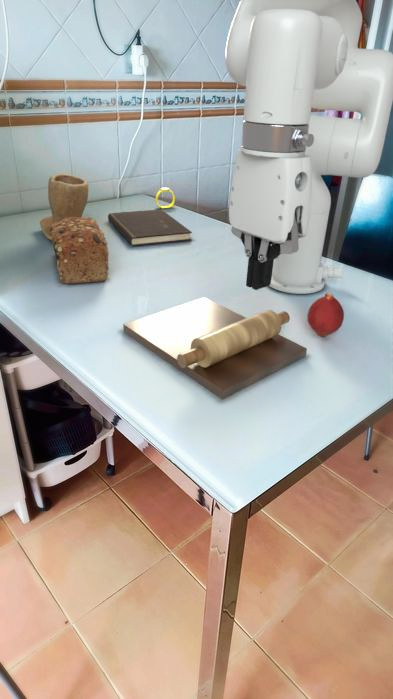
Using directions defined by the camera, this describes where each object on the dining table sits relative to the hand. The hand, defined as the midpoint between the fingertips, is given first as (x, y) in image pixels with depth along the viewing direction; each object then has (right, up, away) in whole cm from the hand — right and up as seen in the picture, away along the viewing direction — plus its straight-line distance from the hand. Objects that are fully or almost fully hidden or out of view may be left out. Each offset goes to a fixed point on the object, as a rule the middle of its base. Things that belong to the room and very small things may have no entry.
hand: (258, 285), depth 65 cm
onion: (+13, -6, +16) cm, 22 cm away
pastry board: (-6, -8, +12) cm, 16 cm away
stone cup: (-42, +20, +58) cm, 74 cm away
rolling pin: (-2, -9, +8) cm, 12 cm away
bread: (-34, +9, +39) cm, 52 cm away
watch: (-18, +36, +85) cm, 94 cm away
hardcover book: (-21, +23, +64) cm, 71 cm away
